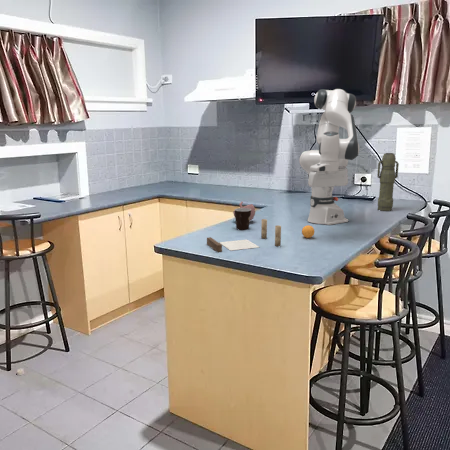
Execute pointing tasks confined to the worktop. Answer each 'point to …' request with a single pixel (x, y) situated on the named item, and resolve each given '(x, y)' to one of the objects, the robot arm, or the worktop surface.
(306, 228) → the ball
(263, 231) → the post
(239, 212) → the coffee mug
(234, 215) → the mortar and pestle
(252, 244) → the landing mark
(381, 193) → the thermos
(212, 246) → the stopper wall
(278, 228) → the post
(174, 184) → the worktop surface
